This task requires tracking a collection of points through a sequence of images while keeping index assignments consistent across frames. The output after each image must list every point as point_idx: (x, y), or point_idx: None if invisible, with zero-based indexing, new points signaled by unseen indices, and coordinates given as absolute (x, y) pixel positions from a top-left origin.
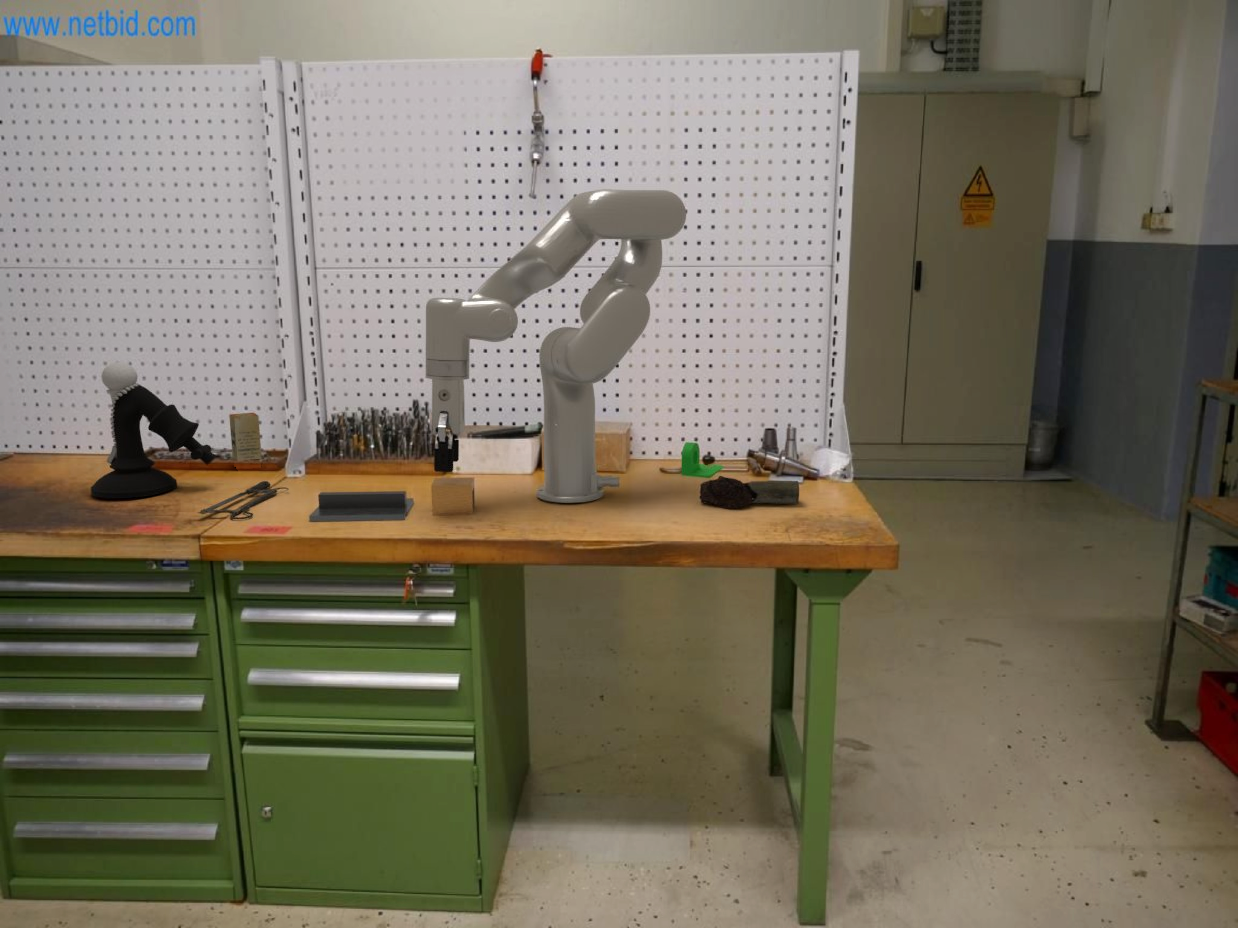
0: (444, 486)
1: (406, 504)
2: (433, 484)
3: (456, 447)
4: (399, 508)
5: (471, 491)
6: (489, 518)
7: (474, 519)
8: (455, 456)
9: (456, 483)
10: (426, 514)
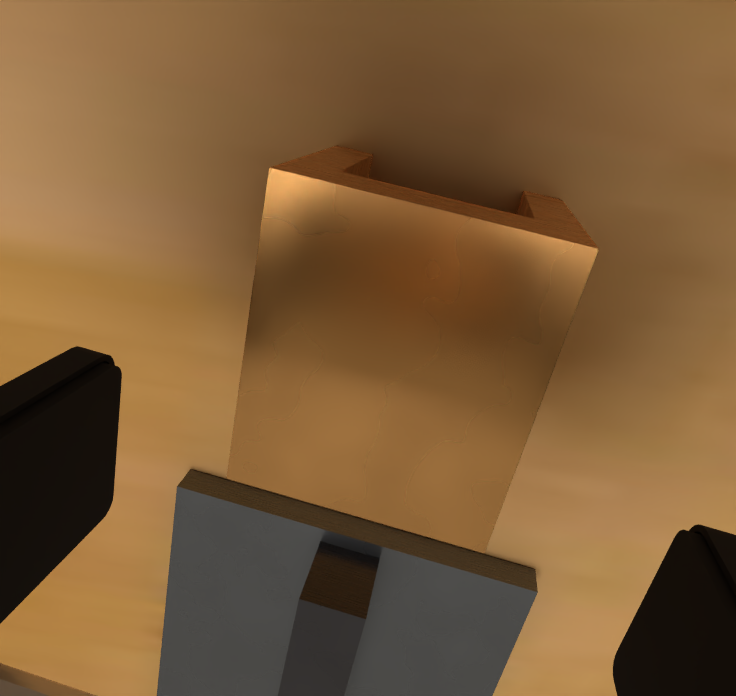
0: (516, 462)
1: (329, 546)
2: (462, 534)
3: (4, 449)
4: (396, 584)
5: (589, 236)
6: (725, 92)
7: (701, 206)
8: (91, 405)
9: (490, 369)
10: None
